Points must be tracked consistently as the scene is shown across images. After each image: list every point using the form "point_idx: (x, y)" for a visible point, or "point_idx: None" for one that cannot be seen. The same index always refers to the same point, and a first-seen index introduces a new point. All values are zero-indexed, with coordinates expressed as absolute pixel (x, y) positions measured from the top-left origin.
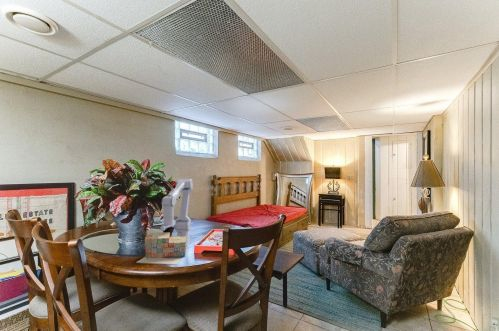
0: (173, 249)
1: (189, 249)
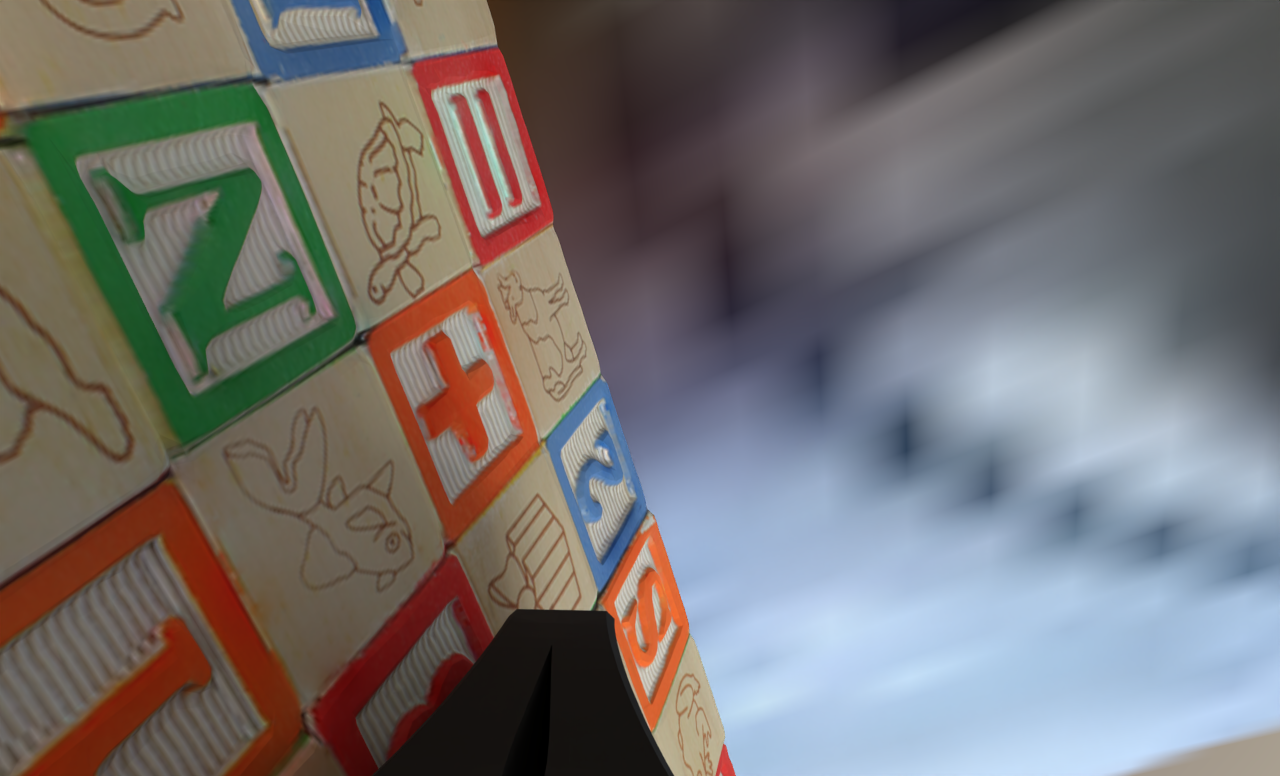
0: None
1: (1042, 756)
